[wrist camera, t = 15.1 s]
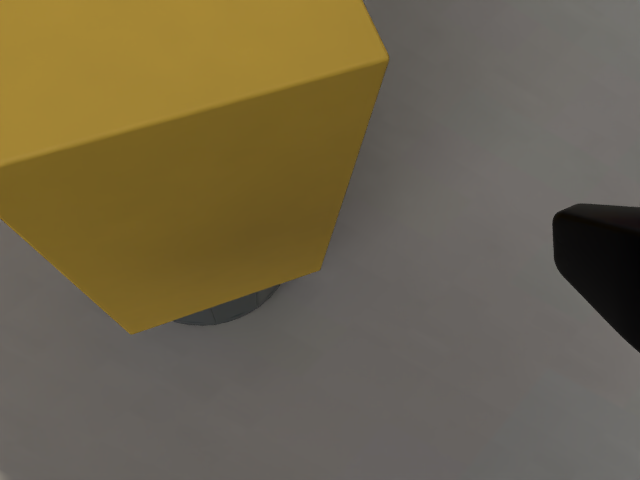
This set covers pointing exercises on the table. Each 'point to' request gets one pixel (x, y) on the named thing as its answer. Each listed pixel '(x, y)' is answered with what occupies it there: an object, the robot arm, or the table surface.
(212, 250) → the yellow rectangular block
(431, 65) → the table surface
